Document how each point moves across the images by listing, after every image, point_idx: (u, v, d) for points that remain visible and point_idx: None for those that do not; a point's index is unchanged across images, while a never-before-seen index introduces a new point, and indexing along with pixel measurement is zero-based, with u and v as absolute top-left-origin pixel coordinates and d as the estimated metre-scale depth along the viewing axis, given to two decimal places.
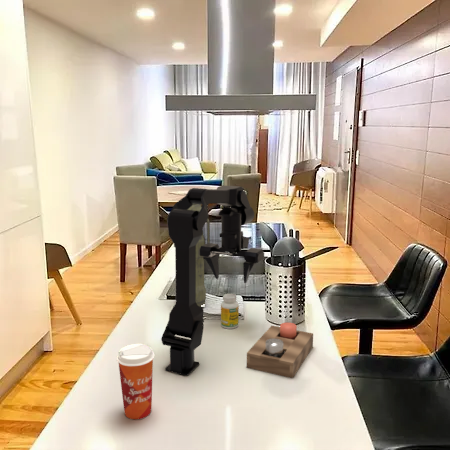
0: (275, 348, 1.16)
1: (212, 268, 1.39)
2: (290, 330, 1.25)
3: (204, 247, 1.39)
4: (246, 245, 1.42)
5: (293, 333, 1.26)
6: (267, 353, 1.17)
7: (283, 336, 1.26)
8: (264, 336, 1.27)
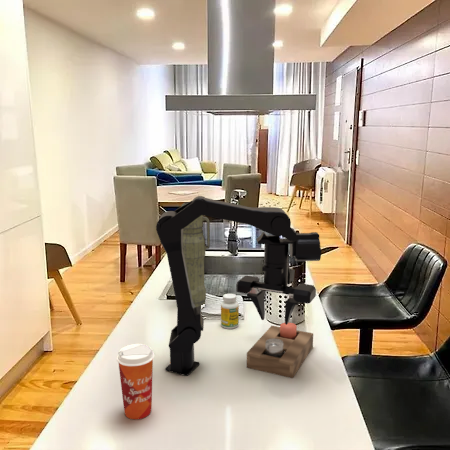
0: (275, 348, 1.16)
1: (258, 308, 1.16)
2: (290, 330, 1.25)
3: (243, 282, 1.16)
4: (292, 278, 1.18)
5: (293, 333, 1.26)
6: (267, 353, 1.17)
7: (283, 336, 1.26)
8: (264, 336, 1.27)
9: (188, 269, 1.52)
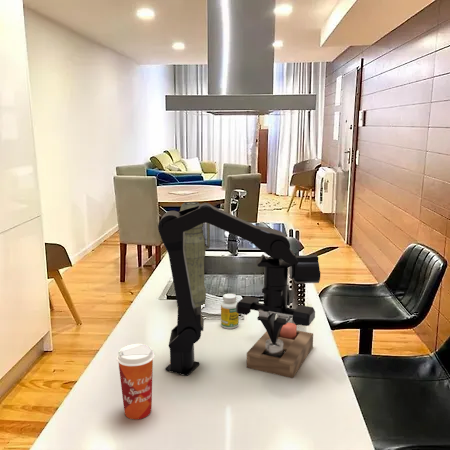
0: (275, 348, 1.16)
1: (268, 331, 1.16)
2: (290, 330, 1.25)
3: (242, 303, 1.17)
4: (291, 299, 1.20)
5: (293, 333, 1.26)
6: (267, 353, 1.17)
7: (283, 336, 1.26)
8: (264, 336, 1.27)
9: (188, 269, 1.52)
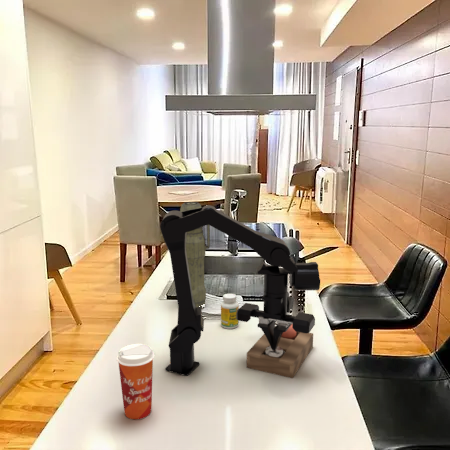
0: (275, 355, 1.16)
1: (268, 338, 1.16)
2: (290, 330, 1.25)
3: (243, 310, 1.17)
4: (291, 306, 1.20)
5: (293, 333, 1.26)
6: None
7: (283, 336, 1.26)
8: (264, 336, 1.27)
9: None
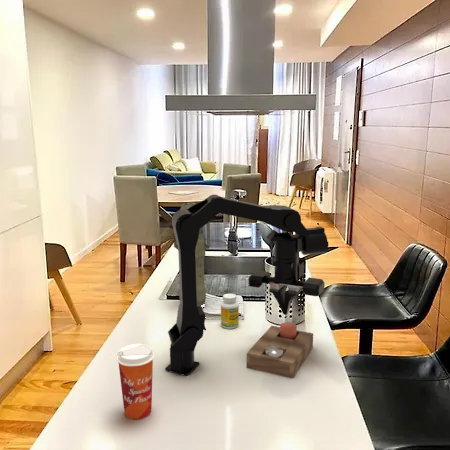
0: (275, 355, 1.16)
1: (280, 303, 1.20)
2: (290, 330, 1.25)
3: (254, 276, 1.22)
4: (302, 273, 1.24)
5: (293, 333, 1.26)
6: None
7: (283, 336, 1.26)
8: (264, 336, 1.27)
9: None
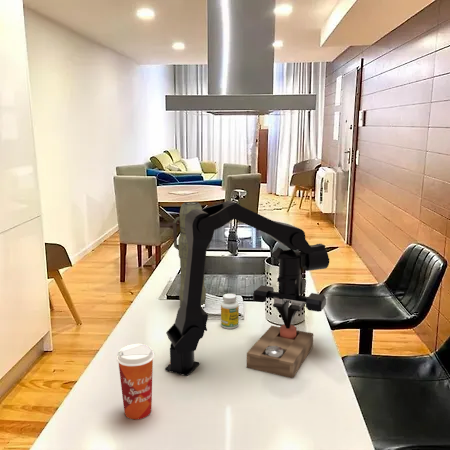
0: (275, 355, 1.16)
1: (283, 317, 1.25)
2: (290, 332, 1.25)
3: (259, 291, 1.26)
4: (304, 288, 1.29)
5: (293, 335, 1.26)
6: None
7: None
8: (264, 336, 1.27)
9: None
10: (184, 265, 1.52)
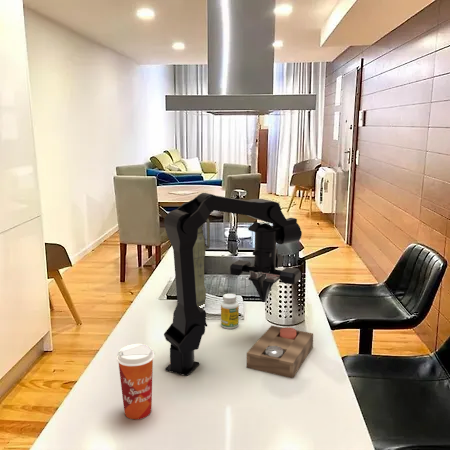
0: (275, 355, 1.16)
1: (258, 290, 1.27)
2: (290, 335, 1.26)
3: (235, 265, 1.29)
4: (280, 263, 1.31)
5: (293, 338, 1.26)
6: None
7: None
8: (264, 336, 1.27)
9: None
10: None
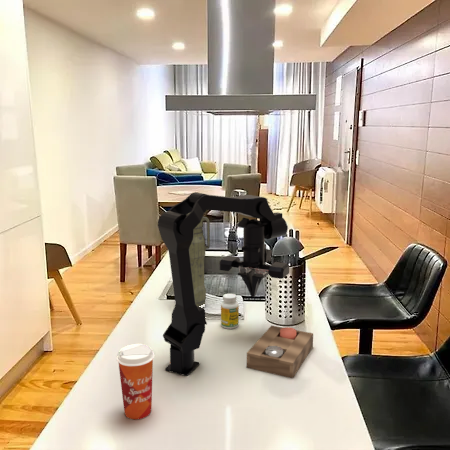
0: (275, 355, 1.16)
1: (248, 285, 1.29)
2: (290, 335, 1.26)
3: (224, 261, 1.30)
4: (269, 258, 1.33)
5: (293, 338, 1.26)
6: None
7: None
8: (264, 336, 1.27)
9: None
10: None
